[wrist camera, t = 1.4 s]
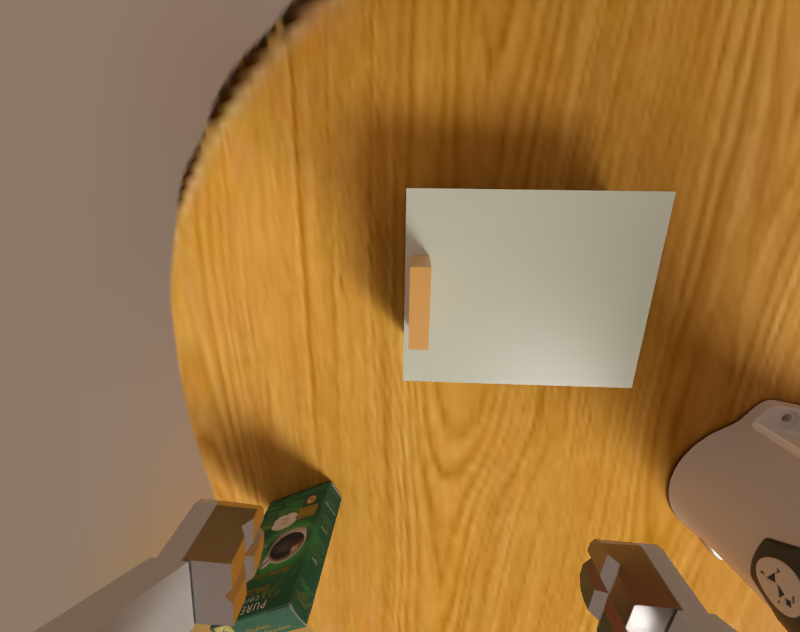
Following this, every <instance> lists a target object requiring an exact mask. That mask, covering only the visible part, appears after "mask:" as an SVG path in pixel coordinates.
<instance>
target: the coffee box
mask: <svg viewBox="0 0 800 632" xmlns="http://www.w3.org/2000/svg"><path fill="white" fill-rule="evenodd" d="M340 502H341V496H340V494H339V493H338V491H337V489H336V488H335V486H334V485H333V483H331V482H327V483H324V484H321V485H317V486H314V487H313V488H311V489H308V490H305V491H303V492H300V493H297V494H294V495H291V496H289V497H285V498H282V499H280V500H278V501H275V502H272V503H270V506H269V508H268V509H267V511H266V513H265V515H264V519H263V521H262V523H261V526H260V528H261V529H262V530H263V531H264V544H263V551H262V555H261V559H260V563H259V566H258V568H257V571H256V573H255V576H254V577H253V578H252V579H250V580H249V581H248V582H247V583H246V590H247V596H246V598H245V600H244V603H243V605H242V608H241V610H240V613H239V615H238V617H237V620H236V622H235V625H234V626H223V625H211V627H210V630H211V631H212V632H288V631H291V630H295V629H299V628H303V627H307V624H308V620H309V617H310V613H311V609H312V605H313V601H314V598H315V594H316V590H317V587H318V583H319V580H320V576H321V572H322V568H323V565H324V561H325V557H326V554H327V550H328V546H329V543H330V539H331V535H332V532H333V528H334V524H335V521H336V517H337V514H338V510H339V506H340Z"/></svg>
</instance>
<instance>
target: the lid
mask: <svg viewBox="0 0 800 632" xmlns="http://www.w3.org/2000/svg"><path fill="white" fill-rule="evenodd" d="M675 195H676V192H669V191H593V190H517V189H442V188H406V240H405V298H404V357H403V381H431V382H461V383H492V384H522V385H552V386H583V387H613V388H632V384H633V380H634V376H635V371H636V367H637V362H638V358H639V354H640V349H641V345H642V340H643V336H644V331H645V327H646V323H647V318H648V314H649V309H650V305H651V301H652V296H653V292H654V287H655V283H656V279H657V274H658V270H659V265H660V261H661V256H662V252H663V248H664V243H665V239H666V234H667V230H668V226H669V221H670V217H671V212H672V208H673V204H674V199H675Z"/></svg>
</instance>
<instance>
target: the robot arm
mask: <svg viewBox="0 0 800 632" xmlns="http://www.w3.org/2000/svg"><path fill="white" fill-rule="evenodd" d="M669 501H670V505H671V508H672V510H673V512H674V514H675V515H676V517H677V518H678V519H679V520H680V521H681V522H682V523H683V524H684V525H685V526H687V527H688V528H689V529H690V530H692V531H693V532H694V533H695V534H696V535H698V536H699V537H700V538H701V539H702V540H703V542H704V544H705V546H706V547H707V549H708V550H709V551H710V552H711V553H712V554H713V555H714V556H715V557H716V558H718V559H720V560H724V561H725V562H726V563H727V564H728V565H729V566H730V567H731V568H732V569H733V570H734V571H735V572H736V573H737V574H738V575H739V576H740V577H741V578H742V579H743V580H744V581H745V582H746V584H747V585H748V586H749V587H750V588H751V589H752V590H753V591H754V592H755V593H756V594H757V595H758V596H759V597H760V598H761V599H762V600H763V601H764V602H765V603H766V604H767V605H768V606H769V607H770V608H771V609H772V611H773V612H774V614H775V616H776V617H777V619H778V620H779V621H780V623H781V624H782V625H783V626H784V627H785V629H786V630H787V631H788V632H800V405H796V404H791V403H787V402H782V401H777V400H767V401H764V402H762V403H760V404H758V405H757V406H756V407H754V408H753V409H752V410H751V411H749V412H748V413H747V414H746V415H745V416H744V417H743V418H742V419H741V420H739V421H738V422H736V423H734V424H732V425H730V426H728V427H725V428H723V429H721V430H719V431H717V432H715V433H713V434H711V435H709V436H707V437H706V438H704V439H703V440H701V441H700V442H699V443H697V444H696V445H695V446H694V447H692V448H691V449H690V450H689V451H688V452H687V453H686V454H685V455H684V457H683V458H682V459H681V460H680V462H679V463H678V465H677V467H676V468H675V470H674V472H673V475H672V477H671V480H670V484H669ZM263 519H264V509H263V507H262V506H259V505H252V504H244V503H236V502H228V501H218V500H210V499H202V498H201V499H200V500H199V501H197V502H196V503H195V504H194V505H193V507H192V508H191V510H190V511H189V513H188V514H187V516H186V517H185V518H184V520H183V521H182V523H181V524H180V526H179V527H178V528H177V530H176V531H175V533H174V534H173V536H172V537H171V538H170V540H169V541H168V543H167V544H166V546H165V547H164V548H163V550H162V551H161V553H160V554H159V556H158V557H157V558H149V559H147V560H146V561H144V562H143V563H141V564H139V565H138V566H136V567H135V568H133V569H131V570H130V571H128V572H127V573H125V574H124V575H122V576H121V577H119V578H117V579H116V580H114V581H113V582H111V583H110V584H108V585H107V586H105V587H103V588H102V589H100V590H99V591H97V592H95V593H94V594H92V595H91V596H89V597H88V598H86V599H84V600H83V601H81V602H80V603H78V604H77V605H75V606H73V607H72V608H70V609H69V610H67V611H66V612H64V613H62V614H61V615H59V616H58V617H56V618H55V619H53V620H52V621H50V622H48V623H47V624H45V625H44V626H42V627H40V628H39V629H37V630H36V631H34V632H189V631H190V630H191V629H192V628H193V627H194V624H208V625H223V626H234V625H235V622H236V620H237V617H238V615H239V613H240V610H241V608H242V605H243V603H244V600H245V598H246V596H247V590H246V583H247V582H248V581H249V580H250V579H252V578H253V577H254V576H255V573H256V571H257V568H258V566H259V563H260V559H261V555H262V551H263V544H264V531H263V530H262V529H261V528H260V526H261V523H262V521H263ZM588 553H589V555H590V557H591V559H589V560H588V561H587V562H585V563H584V564H583V566H582V569H581V573H580V588H581V592H582V596H583V599H584V602H585V604H586V606H587V609H588V610H589V611H590V612H591V613H592V614H593V615H594V616H595V617H596V618H597V619H598V620H599V622H598V626H597V632H737V631H736V630H735V629H733V628H732V627H731V626H729V625H728V624H727V623H726V622H724V621H723V620H722V619H720V618H719V617H718V616H716V615H715V614H709V613H707V611H706V610H705V608H704V607H703V606H702V604H701V603H700V601H699V600H698V599H697V597H696V596H695V594H694V593H693V591H692V590H691V589H690V587H689V586H688V584H687V583H686V582H685V580H684V579H683V577H682V576H681V575H680V573H679V572H678V570H677V569H676V568H675V566H674V565H673V563H672V562H671V561H670V559H669V558H668V556H667V555H666V554H665V552H664V551H663V550H662V549H661V548H660V547H659V546H657V545H653V544H642V543H632V542H621V541H610V540H599V539H594V540H593V541H592V542H591V543H590V545H589V548H588Z"/></svg>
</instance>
